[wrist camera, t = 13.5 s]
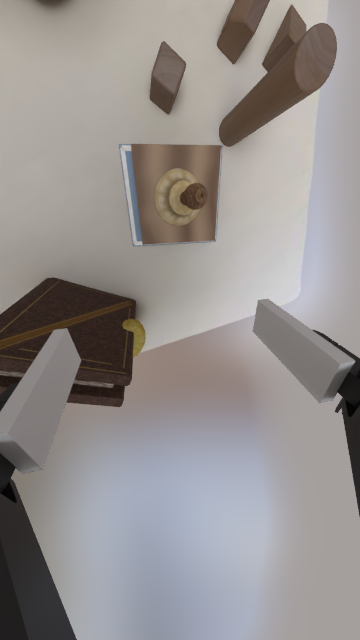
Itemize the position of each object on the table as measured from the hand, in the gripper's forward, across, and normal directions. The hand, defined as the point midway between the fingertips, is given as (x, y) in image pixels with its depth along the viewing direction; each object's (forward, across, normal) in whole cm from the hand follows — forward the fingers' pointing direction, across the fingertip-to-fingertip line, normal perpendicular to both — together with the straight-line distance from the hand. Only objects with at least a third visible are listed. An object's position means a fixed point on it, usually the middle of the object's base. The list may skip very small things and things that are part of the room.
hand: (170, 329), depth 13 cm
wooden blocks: (+33, +16, +26) cm, 44 cm away
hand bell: (+27, +6, +8) cm, 29 cm away
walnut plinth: (+32, +6, +8) cm, 34 cm away
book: (+33, -13, -11) cm, 37 cm away
